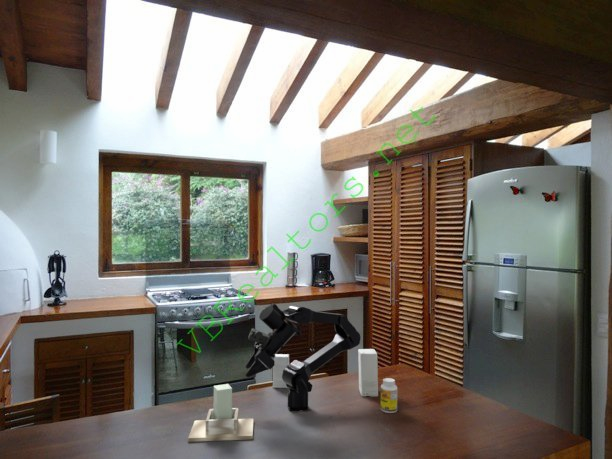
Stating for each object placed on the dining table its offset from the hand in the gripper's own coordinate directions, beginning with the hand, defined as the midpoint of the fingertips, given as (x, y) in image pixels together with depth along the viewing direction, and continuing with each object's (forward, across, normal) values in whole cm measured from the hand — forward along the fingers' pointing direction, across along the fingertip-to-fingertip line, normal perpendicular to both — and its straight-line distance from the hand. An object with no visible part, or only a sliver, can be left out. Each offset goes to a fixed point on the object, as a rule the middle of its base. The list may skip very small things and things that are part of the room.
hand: (246, 371), depth 142 cm
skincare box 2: (-22, -13, +42) cm, 49 cm away
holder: (+14, +13, +4) cm, 20 cm away
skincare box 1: (0, -24, +19) cm, 31 cm away
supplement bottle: (-24, +4, +43) cm, 50 cm away
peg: (+14, +13, +4) cm, 19 cm away
